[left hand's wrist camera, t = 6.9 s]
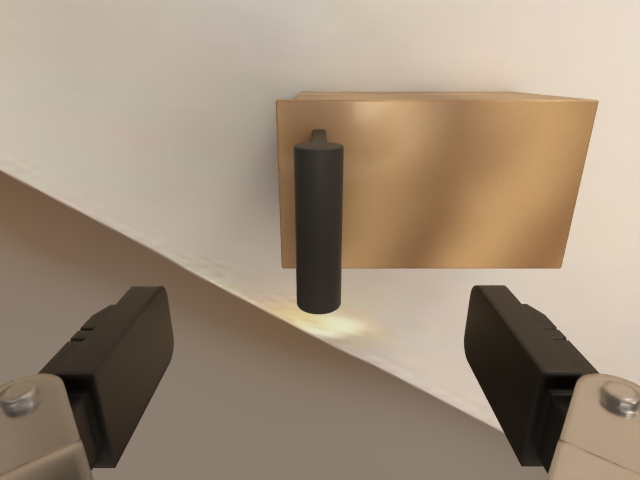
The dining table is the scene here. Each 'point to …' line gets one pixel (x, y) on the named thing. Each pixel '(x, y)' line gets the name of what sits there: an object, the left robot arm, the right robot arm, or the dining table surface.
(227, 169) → the dining table surface
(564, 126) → the lid
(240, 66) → the dining table surface
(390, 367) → the dining table surface
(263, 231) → the dining table surface
